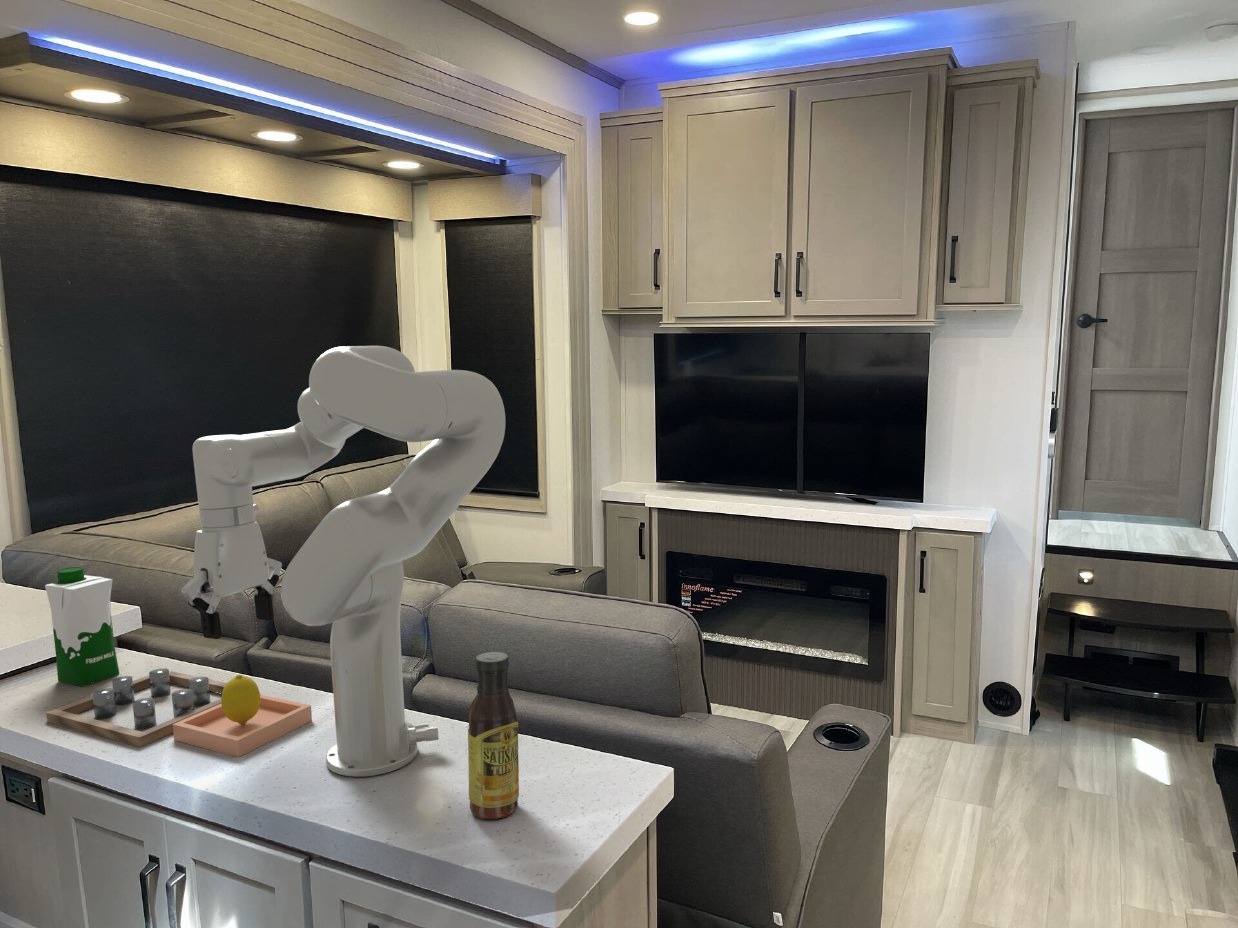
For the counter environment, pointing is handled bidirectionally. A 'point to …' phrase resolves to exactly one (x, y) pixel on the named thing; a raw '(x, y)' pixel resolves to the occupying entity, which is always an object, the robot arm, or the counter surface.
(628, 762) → the counter surface
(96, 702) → the posts
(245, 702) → the lemon
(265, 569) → the robot arm
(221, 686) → the frame
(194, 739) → the dish
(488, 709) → the sauce bottle
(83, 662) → the milk carton
